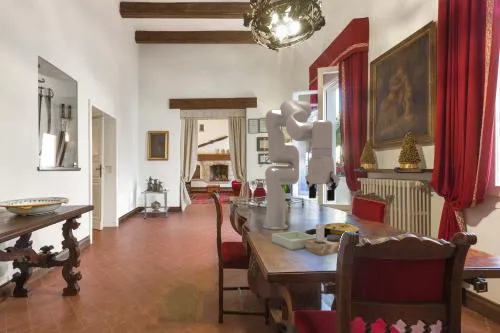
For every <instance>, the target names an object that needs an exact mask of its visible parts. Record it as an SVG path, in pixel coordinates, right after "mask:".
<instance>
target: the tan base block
mask: <svg viewBox="0 0 500 333" xmlns="http://www.w3.org/2000/svg"><path fill="white" fill-rule="evenodd" d="M341 240H342V239H341V238H340V236H338V235H327V237H324V244H317V243H316V240H310V241H306V248H305V251H307V252H309V253H311V254H315V255H317V256H325V255H332V254H337V252H338V249H339V245H340V241H341Z"/></svg>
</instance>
